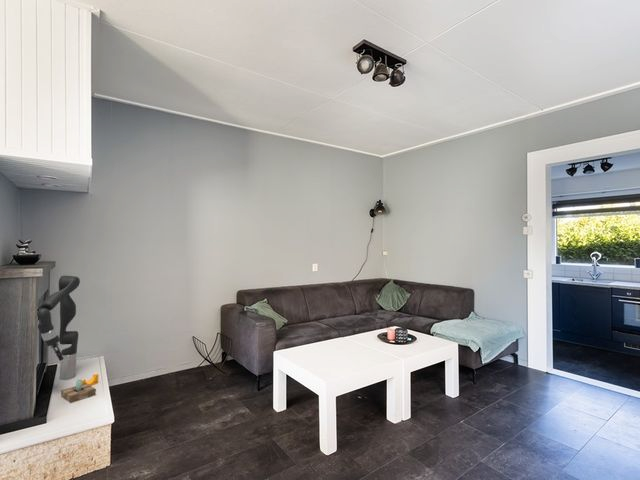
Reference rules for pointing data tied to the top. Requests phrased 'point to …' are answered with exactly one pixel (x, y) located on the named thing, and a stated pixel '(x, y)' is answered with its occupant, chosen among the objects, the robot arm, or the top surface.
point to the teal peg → (78, 385)
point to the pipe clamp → (91, 380)
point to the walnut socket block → (78, 393)
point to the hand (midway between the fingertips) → (60, 357)
